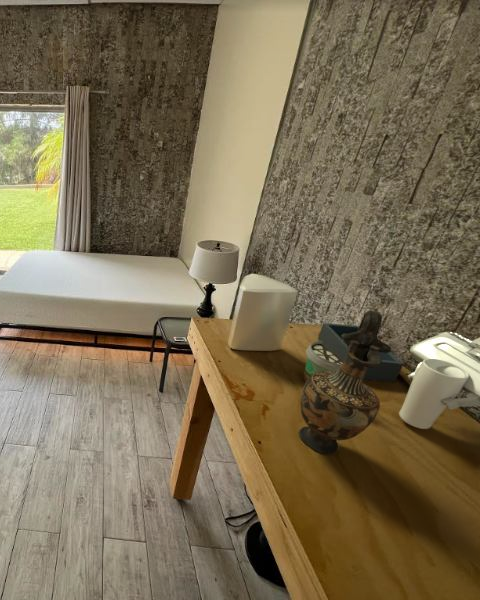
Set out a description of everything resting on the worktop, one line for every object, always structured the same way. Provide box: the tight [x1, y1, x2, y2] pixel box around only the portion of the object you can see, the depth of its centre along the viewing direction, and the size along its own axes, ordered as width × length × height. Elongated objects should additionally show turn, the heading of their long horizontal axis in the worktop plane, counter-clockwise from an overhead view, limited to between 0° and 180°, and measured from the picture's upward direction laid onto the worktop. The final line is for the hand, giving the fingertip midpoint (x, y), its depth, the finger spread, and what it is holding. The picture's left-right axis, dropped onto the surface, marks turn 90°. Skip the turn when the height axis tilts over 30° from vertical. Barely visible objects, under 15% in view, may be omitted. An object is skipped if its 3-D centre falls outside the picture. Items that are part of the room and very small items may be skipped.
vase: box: [298, 310, 392, 456], centre depth 62 cm, size 12×12×30 cm
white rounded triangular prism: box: [227, 273, 299, 352], centre depth 100 cm, size 15×14×22 cm
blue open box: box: [317, 322, 404, 383], centre depth 93 cm, size 10×20×6 cm, turn 167°
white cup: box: [398, 359, 469, 430], centre depth 68 cm, size 7×7×15 cm
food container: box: [302, 340, 343, 384], centre depth 83 cm, size 12×6×10 cm, turn 178°
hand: (427, 392), depth 68 cm, fingers closed on white cup, 6 cm apart
